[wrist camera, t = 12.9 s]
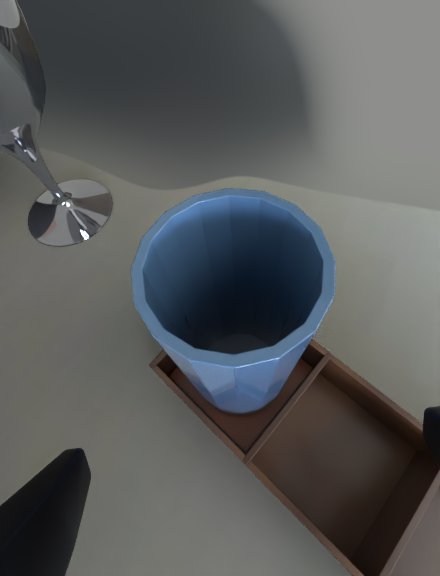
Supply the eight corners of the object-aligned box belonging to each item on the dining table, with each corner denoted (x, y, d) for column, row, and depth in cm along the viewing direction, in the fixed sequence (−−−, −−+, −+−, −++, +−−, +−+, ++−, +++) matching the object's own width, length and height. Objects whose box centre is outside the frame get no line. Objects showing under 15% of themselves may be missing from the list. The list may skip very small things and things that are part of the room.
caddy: (554, 558, 15) (635, 586, 12) (491, 713, 13) (567, 796, 10) (235, 302, 22) (234, 279, 19) (163, 377, 20) (148, 365, 17)
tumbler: (299, 382, 18) (381, 283, 7) (229, 435, 17) (201, 415, 6) (247, 317, 20) (250, 162, 9) (182, 362, 19) (98, 248, 8)
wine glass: (98, 163, 29) (-29, -82, 15) (131, 221, 26) (7, -27, 12) (13, 201, 27) (-206, -32, 14) (37, 267, 24) (-221, 44, 11)
